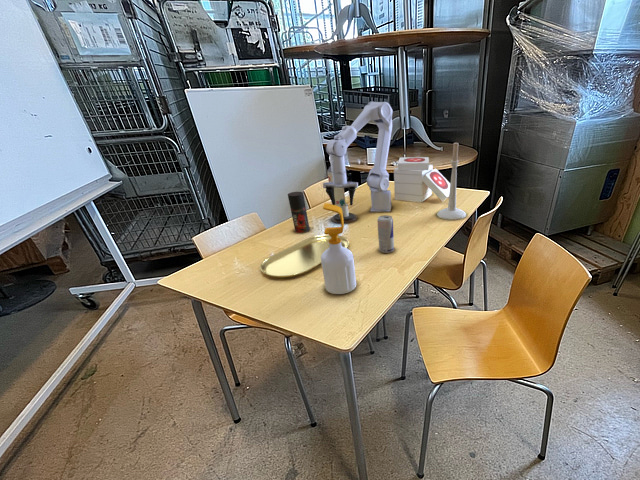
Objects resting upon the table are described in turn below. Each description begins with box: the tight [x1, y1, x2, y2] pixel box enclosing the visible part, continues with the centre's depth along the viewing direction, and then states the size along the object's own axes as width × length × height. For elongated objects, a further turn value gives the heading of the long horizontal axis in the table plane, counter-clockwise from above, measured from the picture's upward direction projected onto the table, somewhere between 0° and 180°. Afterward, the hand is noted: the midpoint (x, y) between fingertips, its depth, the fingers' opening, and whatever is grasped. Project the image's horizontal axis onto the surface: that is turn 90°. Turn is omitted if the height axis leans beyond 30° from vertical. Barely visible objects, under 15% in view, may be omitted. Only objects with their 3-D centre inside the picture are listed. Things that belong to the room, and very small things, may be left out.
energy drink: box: [376, 214, 395, 254], centre depth 117 cm, size 5×5×12 cm
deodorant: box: [287, 191, 311, 234], centre depth 134 cm, size 6×6×15 cm
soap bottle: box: [321, 202, 357, 295], centre depth 92 cm, size 9×9×25 cm
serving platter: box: [259, 234, 350, 279], centre depth 116 cm, size 19×35×2 cm, turn 148°
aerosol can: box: [326, 166, 346, 206], centre depth 160 cm, size 7×7×20 cm
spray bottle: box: [333, 198, 355, 221], centre depth 146 cm, size 9×9×8 cm
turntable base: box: [331, 213, 358, 225], centre depth 148 cm, size 11×11×1 cm
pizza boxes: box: [393, 156, 451, 203], centre depth 168 cm, size 19×30×18 cm, turn 65°
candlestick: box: [436, 142, 467, 221], centre depth 142 cm, size 13×13×30 cm
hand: (342, 204), depth 145 cm, fingers open, 7 cm apart
